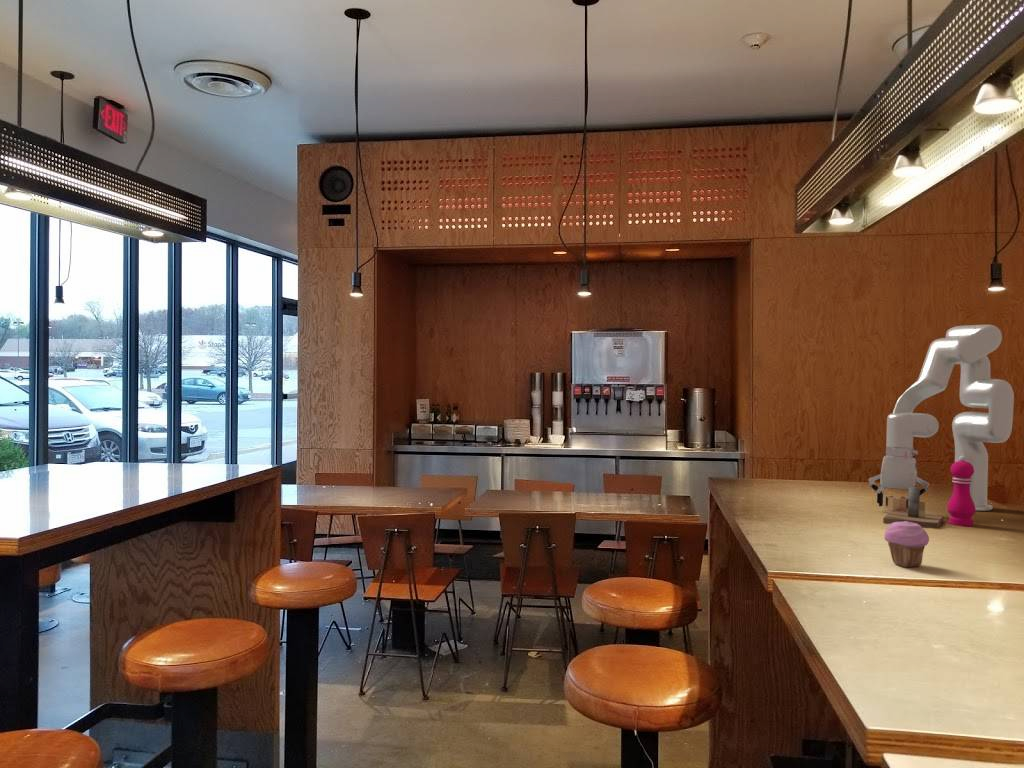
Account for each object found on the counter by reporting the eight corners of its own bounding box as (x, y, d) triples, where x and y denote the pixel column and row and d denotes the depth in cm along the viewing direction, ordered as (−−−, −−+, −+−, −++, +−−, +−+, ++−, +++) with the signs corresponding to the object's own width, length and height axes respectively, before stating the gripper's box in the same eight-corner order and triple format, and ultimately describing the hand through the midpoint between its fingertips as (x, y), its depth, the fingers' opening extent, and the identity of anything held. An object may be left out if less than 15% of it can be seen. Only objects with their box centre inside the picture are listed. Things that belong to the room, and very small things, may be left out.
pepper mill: (980, 526, 233) (982, 457, 233) (954, 526, 233) (956, 456, 233) (966, 522, 240) (968, 454, 240) (942, 521, 240) (943, 454, 240)
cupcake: (903, 570, 177) (904, 525, 177) (875, 561, 186) (876, 518, 186) (936, 568, 180) (937, 523, 180) (907, 560, 188) (908, 517, 188)
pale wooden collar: (912, 515, 250) (913, 499, 250) (886, 514, 252) (887, 498, 252) (909, 512, 257) (909, 496, 257) (884, 510, 259) (884, 495, 259)
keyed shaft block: (891, 515, 250) (892, 483, 250) (942, 520, 243) (943, 487, 243) (883, 522, 237) (883, 488, 237) (937, 528, 229) (938, 493, 229)
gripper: (931, 454, 253) (929, 509, 253) (871, 450, 262) (869, 503, 262) (928, 455, 247) (926, 512, 247) (867, 451, 256) (865, 506, 256)
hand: (897, 507), depth 255 cm, fingers open, 9 cm apart
